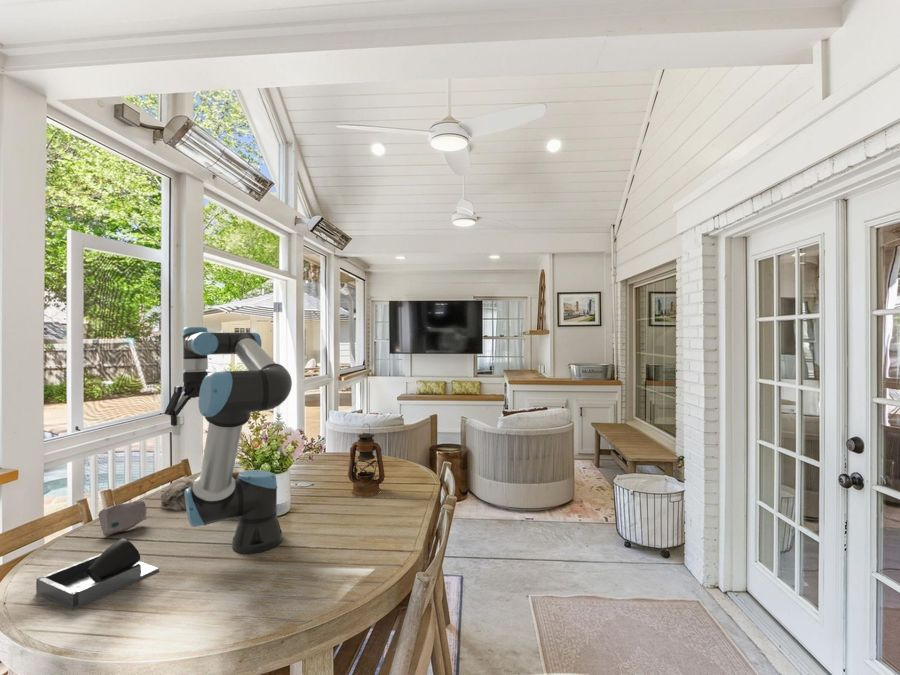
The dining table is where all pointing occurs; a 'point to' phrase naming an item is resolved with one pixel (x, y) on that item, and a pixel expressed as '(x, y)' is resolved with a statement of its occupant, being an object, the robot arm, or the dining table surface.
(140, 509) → the mauve grey rounded block
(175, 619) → the dining table surface
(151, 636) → the dining table surface
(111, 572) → the black rounded cylinder
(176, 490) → the rock
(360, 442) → the lantern
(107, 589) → the grey rectangular tray
